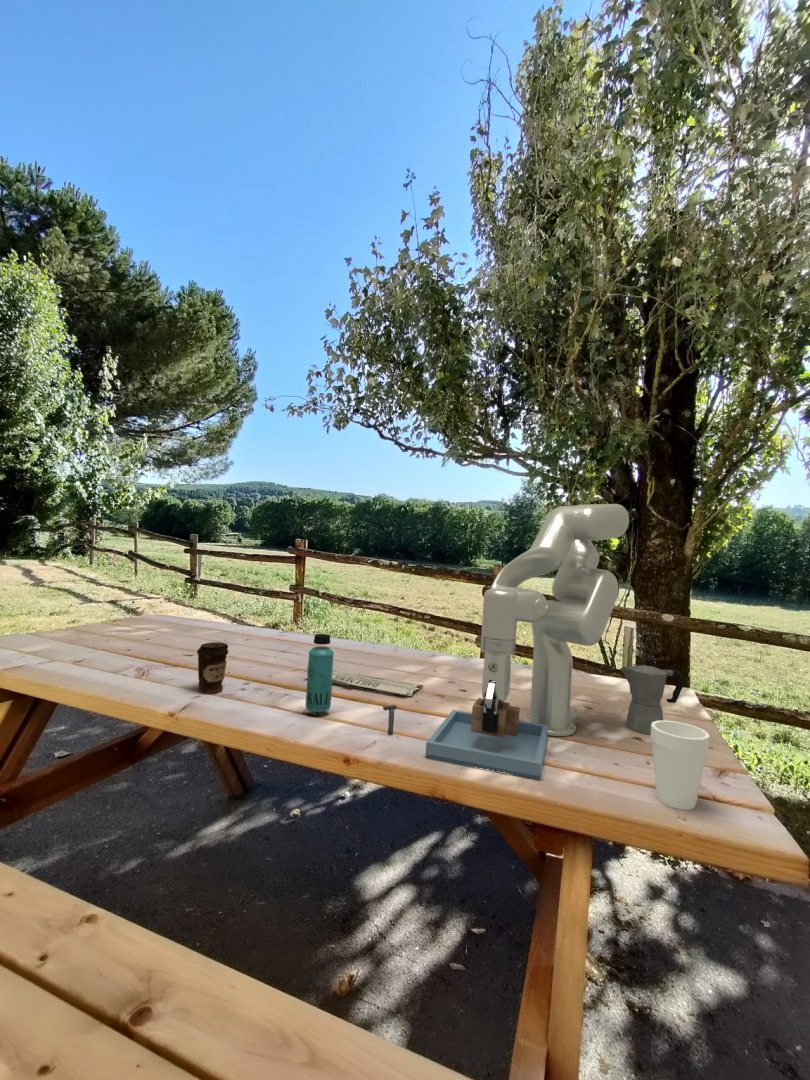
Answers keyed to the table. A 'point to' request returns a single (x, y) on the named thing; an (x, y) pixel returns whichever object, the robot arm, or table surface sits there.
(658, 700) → the coffeepot
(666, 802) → the foam cup
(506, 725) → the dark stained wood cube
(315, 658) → the beverage bottle
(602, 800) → the table surface
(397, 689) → the newspaper
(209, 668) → the coffee cup
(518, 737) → the slate tray
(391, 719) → the t head stake
